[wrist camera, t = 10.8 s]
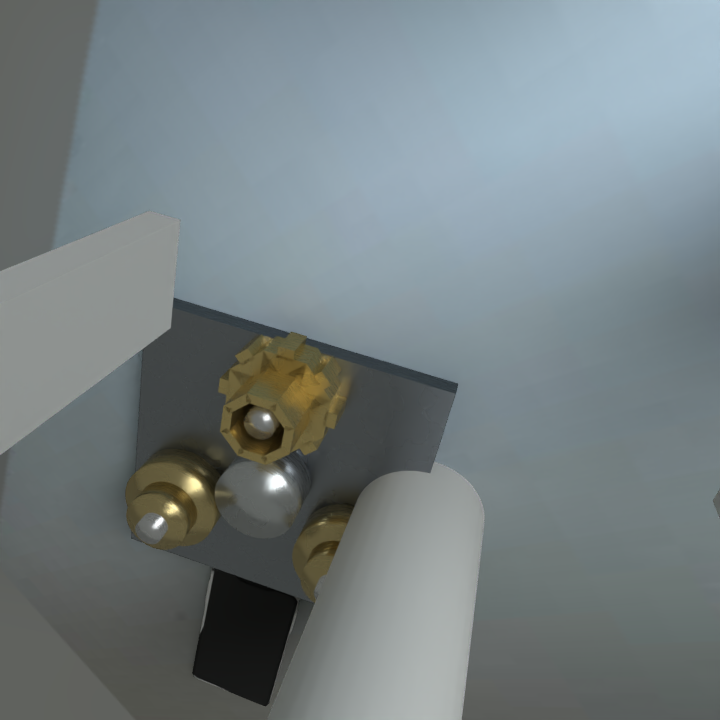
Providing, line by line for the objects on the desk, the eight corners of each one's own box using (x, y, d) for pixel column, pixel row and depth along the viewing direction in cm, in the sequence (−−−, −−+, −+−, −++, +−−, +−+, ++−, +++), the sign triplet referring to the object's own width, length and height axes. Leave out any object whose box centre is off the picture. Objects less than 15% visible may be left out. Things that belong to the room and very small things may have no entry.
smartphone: (190, 676, 62) (211, 564, 55) (196, 665, 63) (217, 554, 56) (268, 708, 61) (300, 599, 54) (273, 697, 63) (305, 588, 56)
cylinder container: (389, 569, 52) (238, 1091, 26) (340, 472, 50) (114, 944, 23) (503, 547, 49) (462, 1123, 22) (456, 442, 46) (347, 954, 20)
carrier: (157, 293, 47) (99, 328, 40) (458, 383, 44) (445, 437, 38) (140, 527, 57) (91, 584, 50) (385, 613, 54) (365, 685, 48)
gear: (241, 316, 44) (201, 352, 39) (358, 351, 43) (332, 392, 38) (227, 418, 48) (189, 463, 42) (334, 452, 47) (308, 503, 41)
